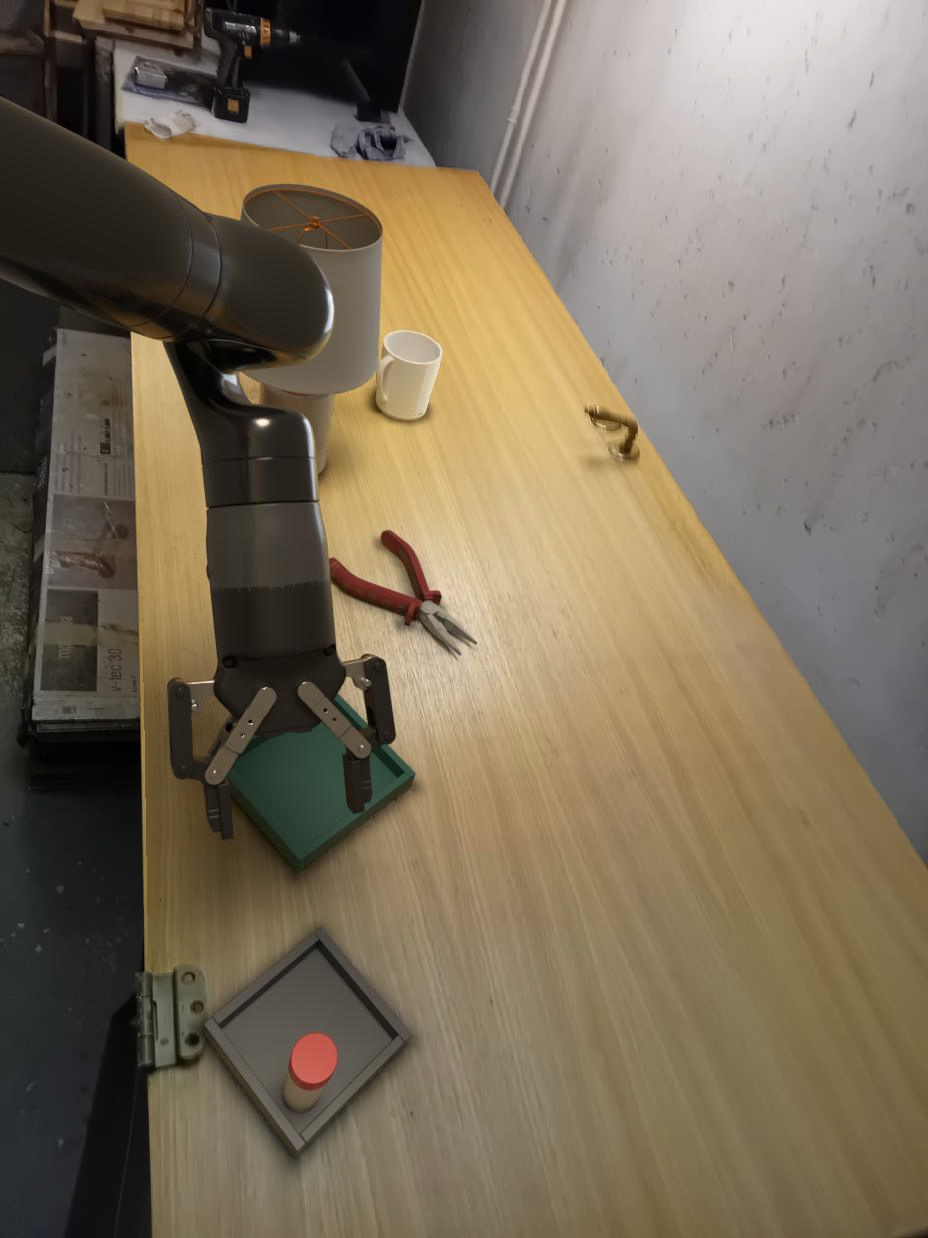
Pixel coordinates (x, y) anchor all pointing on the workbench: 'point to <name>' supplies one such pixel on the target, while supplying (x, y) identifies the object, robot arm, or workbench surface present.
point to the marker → (308, 1071)
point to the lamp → (353, 269)
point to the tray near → (296, 1006)
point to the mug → (406, 374)
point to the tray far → (310, 788)
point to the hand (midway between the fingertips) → (293, 822)
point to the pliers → (413, 607)
